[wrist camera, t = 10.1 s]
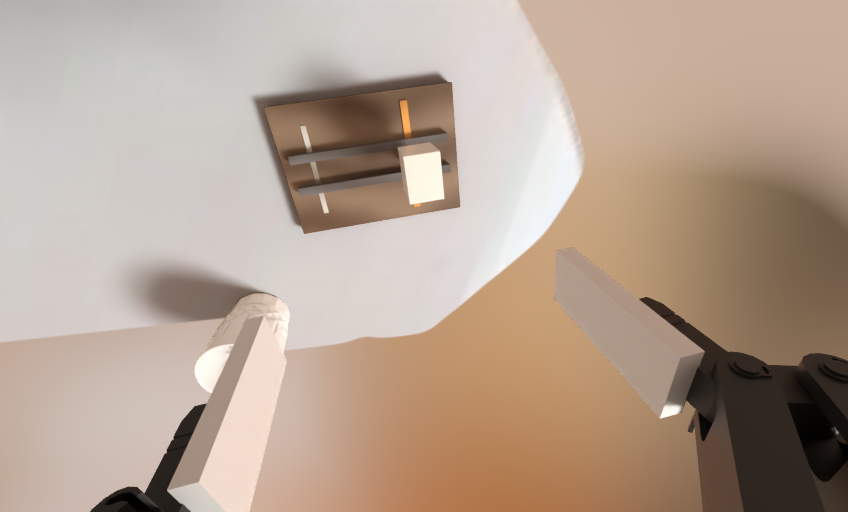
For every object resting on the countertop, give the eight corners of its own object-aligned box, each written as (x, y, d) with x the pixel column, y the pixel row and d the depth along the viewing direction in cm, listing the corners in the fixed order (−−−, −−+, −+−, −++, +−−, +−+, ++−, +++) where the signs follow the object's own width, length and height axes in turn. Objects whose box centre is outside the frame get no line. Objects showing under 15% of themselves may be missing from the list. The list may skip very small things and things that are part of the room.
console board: (267, 106, 32) (261, 108, 30) (448, 82, 34) (454, 82, 32) (306, 228, 38) (302, 237, 36) (456, 202, 40) (462, 209, 38)
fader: (393, 140, 34) (403, 156, 26) (422, 136, 34) (440, 151, 26) (399, 179, 36) (410, 204, 28) (427, 174, 36) (444, 198, 28)
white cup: (233, 338, 44) (201, 403, 35) (224, 288, 40) (186, 345, 31) (296, 337, 45) (281, 398, 36) (292, 288, 42) (274, 342, 33)
